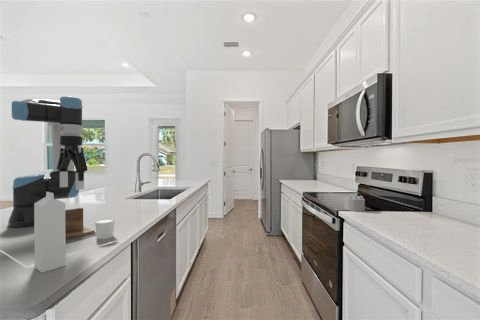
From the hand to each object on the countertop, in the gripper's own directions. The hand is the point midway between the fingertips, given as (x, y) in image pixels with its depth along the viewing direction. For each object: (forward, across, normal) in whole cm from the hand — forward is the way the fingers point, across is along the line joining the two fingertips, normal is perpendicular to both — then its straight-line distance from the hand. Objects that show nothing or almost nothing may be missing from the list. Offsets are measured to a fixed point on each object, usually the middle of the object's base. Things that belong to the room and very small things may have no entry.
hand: (71, 188), depth 103 cm
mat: (+20, 0, 0) cm, 20 cm away
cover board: (+19, 0, 0) cm, 19 cm away
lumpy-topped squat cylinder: (+20, +88, +123) cm, 153 cm away
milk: (+20, +26, -17) cm, 37 cm away
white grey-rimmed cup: (+20, +14, +6) cm, 25 cm away
